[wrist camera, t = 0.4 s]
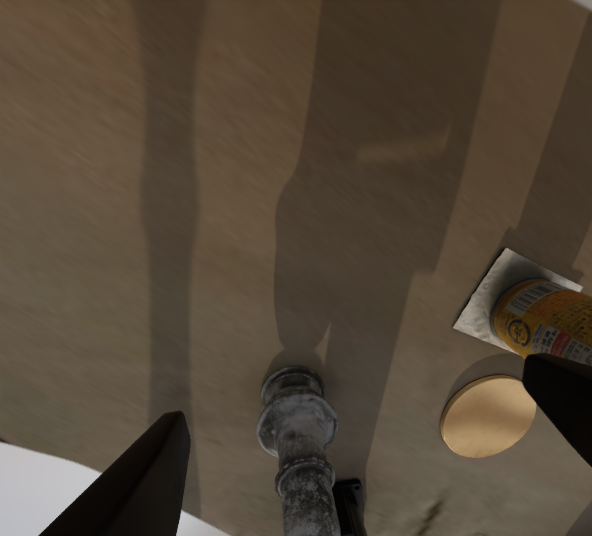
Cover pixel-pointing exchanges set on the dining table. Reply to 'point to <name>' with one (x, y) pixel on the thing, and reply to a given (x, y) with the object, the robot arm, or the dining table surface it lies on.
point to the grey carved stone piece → (300, 449)
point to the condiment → (530, 311)
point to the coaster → (487, 416)
